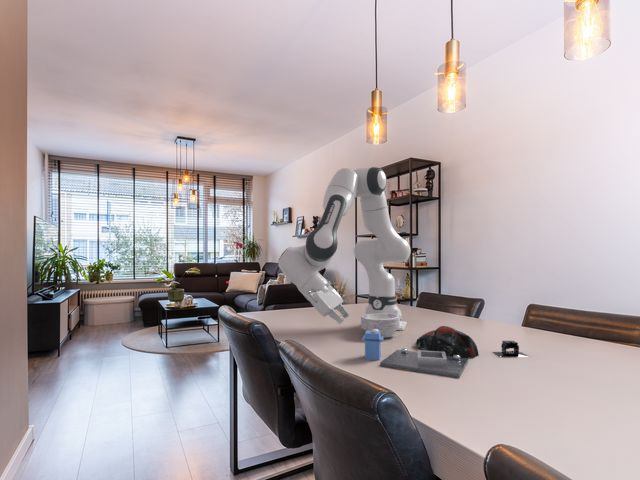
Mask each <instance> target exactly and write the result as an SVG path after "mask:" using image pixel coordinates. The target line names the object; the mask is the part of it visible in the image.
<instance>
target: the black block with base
mask: <svg viewBox="0 0 640 480" xmlns="http://www.w3.org/2000/svg"><path fill="white" fill-rule="evenodd" d="M518 344H519V343H518V342H517V341H515V340H502V342H501V351H492V353H493V354H494V355H495V356H497V357H499V358H502V357H504V358H530V356H529V355H527V354H525V353H523V352H522V351H520V345H518ZM509 349H513V350H509Z"/></svg>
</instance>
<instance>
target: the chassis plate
mask: <svg viewBox="0 0 640 480" xmlns="http://www.w3.org/2000/svg"><path fill="white" fill-rule="evenodd" d="M469 361H470V360H469V358H460V355H453V357H451V356H447V355H446V354H445V352H439V351H426V350H422V349H421V350H419V349H417V351H409V350H408V348H406V347H405V348H404V347H403V348H401V349H396V350H395V351H394V352H392V353H391V354H389V355H388V356H387V357H385V358H384V359H383V360H381V361H380V362H379V364H380V366H381V367H386V368H392V369H397V370H398V369H399V370H406V371H413V372H417V373H425V374H426V373H427V374H430V375H431V374H432V375H438V376H446V377H452V378H461V376H462V374H463V372H464V371H465V369H466V367H467V366H468V364H469Z"/></svg>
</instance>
